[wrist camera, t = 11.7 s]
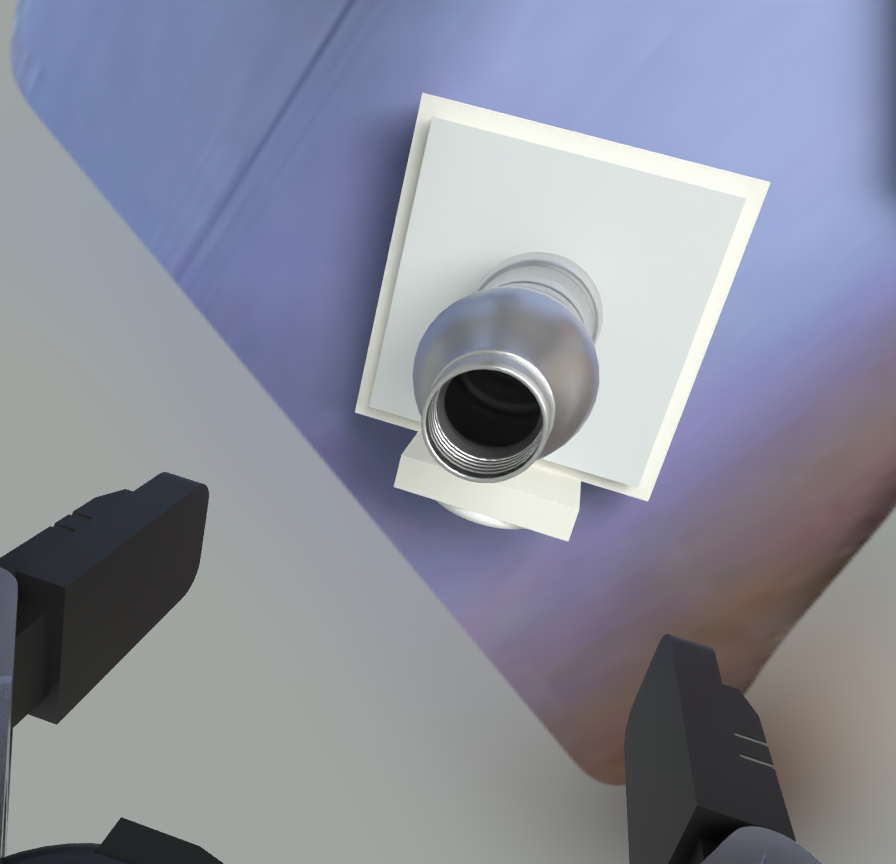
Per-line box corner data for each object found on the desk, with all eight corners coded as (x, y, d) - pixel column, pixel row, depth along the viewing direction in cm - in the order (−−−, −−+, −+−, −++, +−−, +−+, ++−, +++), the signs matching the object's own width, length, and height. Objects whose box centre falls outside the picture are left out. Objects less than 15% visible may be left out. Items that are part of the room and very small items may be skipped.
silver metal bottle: (619, 345, 39) (638, 493, 21) (500, 385, 41) (419, 554, 23) (579, 227, 38) (561, 273, 19) (458, 275, 40) (334, 358, 21)
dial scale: (438, 100, 42) (403, 83, 34) (754, 182, 40) (790, 182, 33) (364, 434, 49) (323, 480, 42) (629, 515, 48) (634, 577, 40)
